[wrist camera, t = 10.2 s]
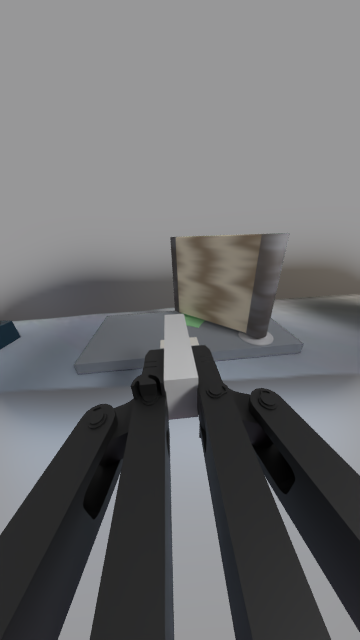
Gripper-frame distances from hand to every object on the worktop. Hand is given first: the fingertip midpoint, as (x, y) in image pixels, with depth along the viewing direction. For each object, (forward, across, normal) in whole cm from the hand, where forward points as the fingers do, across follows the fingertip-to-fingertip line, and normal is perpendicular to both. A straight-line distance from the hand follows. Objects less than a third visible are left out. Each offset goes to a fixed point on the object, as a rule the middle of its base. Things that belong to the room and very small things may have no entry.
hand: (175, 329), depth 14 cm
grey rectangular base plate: (+11, +2, -8) cm, 13 cm away
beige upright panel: (+11, +6, -6) cm, 14 cm away
